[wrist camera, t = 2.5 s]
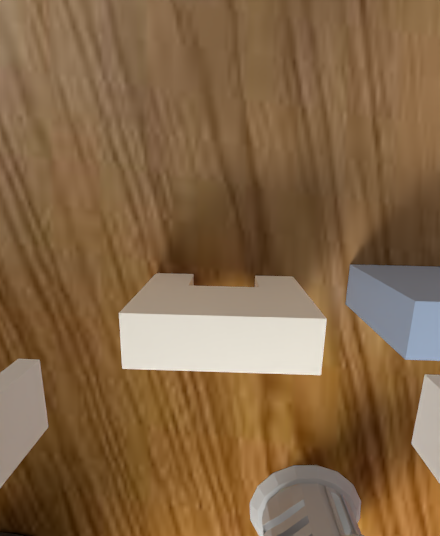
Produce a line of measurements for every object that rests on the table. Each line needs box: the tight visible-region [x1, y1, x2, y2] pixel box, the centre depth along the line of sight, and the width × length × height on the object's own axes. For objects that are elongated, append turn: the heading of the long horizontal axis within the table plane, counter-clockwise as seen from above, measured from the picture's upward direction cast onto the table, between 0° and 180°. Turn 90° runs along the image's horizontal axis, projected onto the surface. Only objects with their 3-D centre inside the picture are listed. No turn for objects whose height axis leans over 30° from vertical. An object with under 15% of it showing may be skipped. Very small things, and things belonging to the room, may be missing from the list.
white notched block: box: [119, 273, 327, 375], centre depth 19 cm, size 10×3×8 cm, turn 89°
